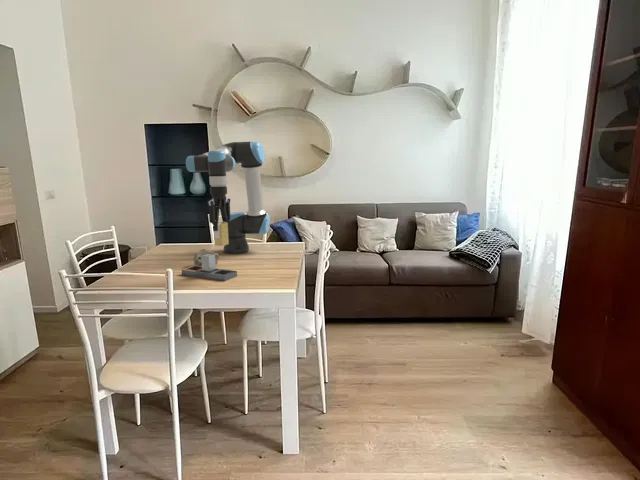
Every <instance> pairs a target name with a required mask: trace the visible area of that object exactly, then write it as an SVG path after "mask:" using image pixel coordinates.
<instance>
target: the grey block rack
mask: <svg viewBox="0 0 640 480" xmlns="http://www.w3.org/2000/svg"><path fill="white" fill-rule="evenodd" d="M181 275H182V276H186V275H187V277H193V276H194V278H200V277H201V278H202V279H207V278H208V280H215V281H222V282H226V281H229V280H231V279H233V278H237V277H238V270H232V269H230V270H229V269H225V268H216V271H213V272H211V273H207V272H202V266H197V265H194V264H193V265H192V266H188V267H185V268H183V269H181Z"/></svg>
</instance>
